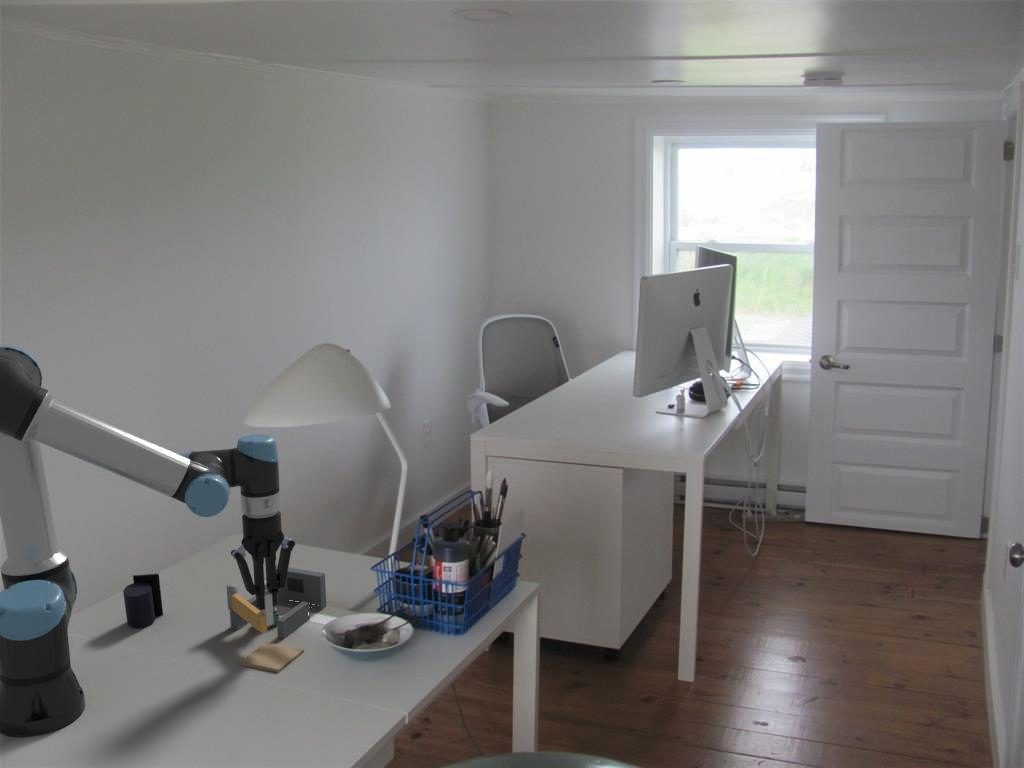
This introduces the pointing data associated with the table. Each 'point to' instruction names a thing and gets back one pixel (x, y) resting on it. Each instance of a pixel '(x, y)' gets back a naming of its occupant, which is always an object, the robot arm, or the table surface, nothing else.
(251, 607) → the wooden plank
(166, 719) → the table surface
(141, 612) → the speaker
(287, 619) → the cradle
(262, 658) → the cork mat
